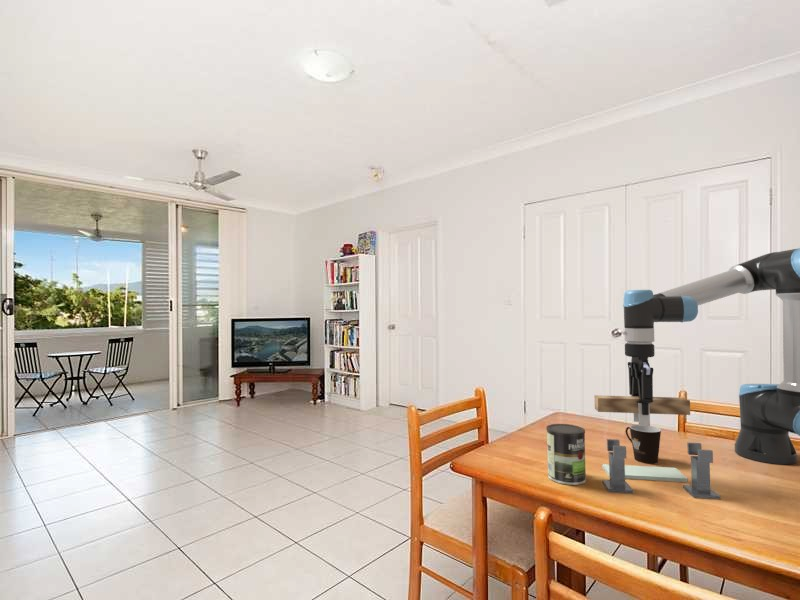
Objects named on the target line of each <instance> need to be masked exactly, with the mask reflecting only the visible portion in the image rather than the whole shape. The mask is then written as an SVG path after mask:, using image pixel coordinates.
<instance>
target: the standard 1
mask: <svg viewBox="0 0 800 600" xmlns="http://www.w3.org/2000/svg"><path fill="white" fill-rule="evenodd" d="M606 451H608V464H609V474H610V477H609V480H608V479H601V481H602V482H601V483H602V484H603V486H604V487H605V489H606V490H607V492H608V493H617V494H618V493H619V494H632V495H633V494H634V489H633V488H632V487H631V485H630V484H629V483H628V482H627V481H626V479H625V465H626V463H625V460H627V446H625V445H620V440H619V439H615V438H614V439H611V438H610V439H609V438H606Z"/></svg>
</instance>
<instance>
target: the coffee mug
mask: <svg viewBox="0 0 800 600" xmlns="http://www.w3.org/2000/svg"><path fill="white" fill-rule="evenodd" d="M628 431H629V432H630V436H629V434H628V433H629V432H628ZM661 434H662V429H661V428H660V427H657V426H653V425H650V426H639V424H632V425H630V426H627V427H626V428H625V435H626V437H627V438H628V440H629V442H630V443H631V445H632V451H633V458H634V460H635V461H637V462H638V463H642V464H647V465H655V464H657V463H658V462H659V452H660V445H661Z"/></svg>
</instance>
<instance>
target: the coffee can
mask: <svg viewBox="0 0 800 600" xmlns="http://www.w3.org/2000/svg"><path fill="white" fill-rule="evenodd" d="M545 428H546V429H545V430H546V442H547V443H546V445H547V446H546V447H547V451H546V453H547V477H548V479H549V480H551V481H553V482H554V483H557V484H561V485H565V486H578V485H583V484H585V483H586V482H587V478H586V477H587V476H586V472H587V471H586V438H585V435H586V430H585V428H583V427H581V426H578V425H574V424H567V423H553V424H548V425H547V426H546V427H545Z"/></svg>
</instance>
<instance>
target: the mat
mask: <svg viewBox="0 0 800 600" xmlns="http://www.w3.org/2000/svg"><path fill="white" fill-rule="evenodd" d="M601 468H602V469H603V471H605V473H606V474H607V476H608V477H609V478H610V474H609V463H607V464H606V463H603V464H602V466H601ZM626 479H628V480H641V481H642V480H645V481H659V482H677V483H678V482H679V483H689V478H688V477H687V476H686V475H685V474H683V473H682V472H681V471H680V470H679V469H678V468H676V467H667V466H666V467H664V466H647V465H645V466H644V465H629V464H628V465H626V464H625V480H626Z"/></svg>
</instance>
